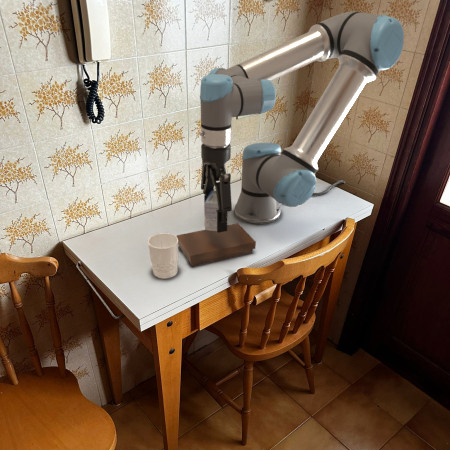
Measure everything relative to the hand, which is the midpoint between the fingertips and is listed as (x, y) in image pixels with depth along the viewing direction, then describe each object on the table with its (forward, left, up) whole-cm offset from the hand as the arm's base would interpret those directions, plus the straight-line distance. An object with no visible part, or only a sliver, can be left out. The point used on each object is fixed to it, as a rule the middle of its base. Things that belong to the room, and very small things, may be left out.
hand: (215, 223), depth 125 cm
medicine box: (0, 0, -1) cm, 1 cm away
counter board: (0, 0, -9) cm, 9 cm away
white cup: (+17, +5, -9) cm, 20 cm away
